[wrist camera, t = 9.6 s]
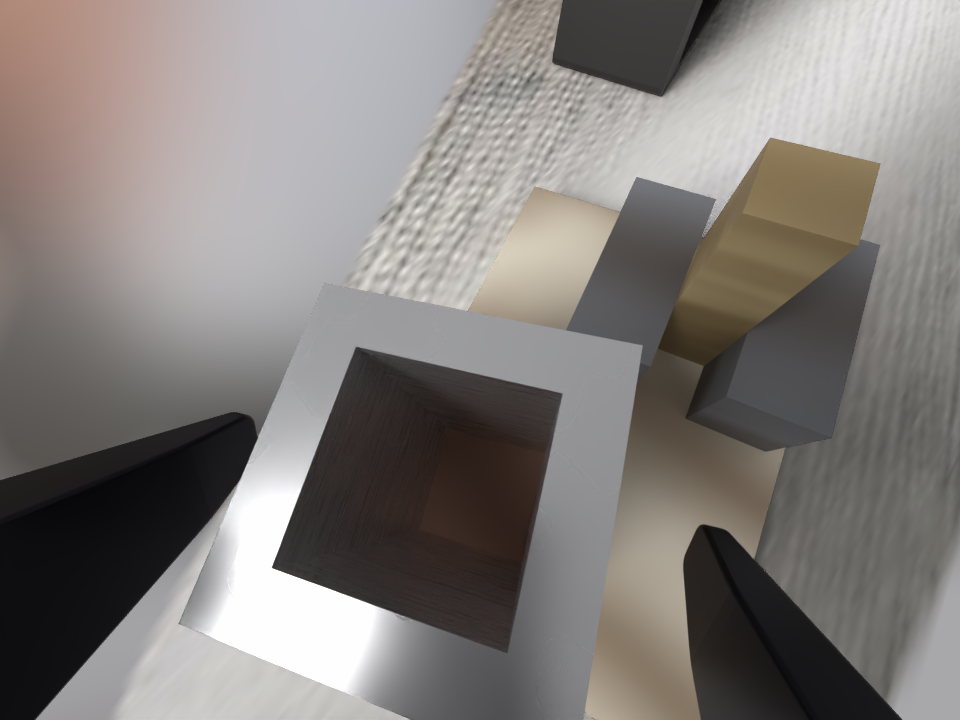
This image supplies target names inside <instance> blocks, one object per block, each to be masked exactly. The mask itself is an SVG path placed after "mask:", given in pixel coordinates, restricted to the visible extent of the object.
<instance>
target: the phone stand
mask: <svg viewBox="0 0 960 720" xmlns="http://www.w3.org/2000/svg"><path fill="white" fill-rule="evenodd" d="M721 2H722V0H563V3H562V8H561V14H560V19H559V25H558V30H557V36H556V41H555V47H554V53H553V59H552V61H553V63H555V64H558V65H561V66H564V67H568V68H571V69H574V70H577V71H581V72H584V73H587V74H590V75H594V76H597V77H600V78H603V79H607V80H610V81H613V82H616V83H620V84H623V85H626V86H629V87H633V88H636V89H639V90H643V91H646V92H649V93H652V94H656V95H659V96H662V94H663V93H664V91H665V90H666V88H667V87H668V85H669V83H670V82H671V80H672V79H673V77H674V76H675V74H676V72H677V71H678V69H679V68H680V66H681V65H682V63H683V61H684V60H685V58H686V57H687V55H688V53H689V52H690V50H691V49H692V47H693V46H694V44H695V42H696V40H697V38H699V36H700V35H701V33H702V31H703V30H704V28H705V27H706V25H707V24H708V22H709V20H710V19H711V17H712V16H713V14H714V13H715V11H716V9H717V8H718V6H719V5H720V3H721Z"/></svg>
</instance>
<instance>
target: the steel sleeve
mask: <svg viewBox="0 0 960 720" xmlns="http://www.w3.org/2000/svg"><path fill="white" fill-rule="evenodd" d="M642 347H643V345H638V344H633V343H628V342H622V341H617V340H612V339H607V338H602V337H597V336H592V335H587V334H582V333H577V332H572V331H566V330H561V329H556V328H551V327H546V326H541V325H536V324H531V323H526V322H521V321H515V320H510V319H505V318H500V317H495V316H490V315H485V314H480V313H475V312H470V311H465V310H459V309H454V308H449V307H444V306H439V305H434V304H429V303H424V302H419V301H414V300H408V299H403V298H398V297H393V296H388V295H383V294H378V293H373V292H368V291H363V290H358V289H352V288H347V287H342V286H337V285H332V284H327V283H324V285H323V288H322V290H321V293H320V295H319V297H318V299H317V302H316V304H315V306H314V309H313V311H312V313H311V316H310V318H309V320H308V323H307V325H306V328H305V330H304V332H303V334H302V337H301V339H300V341H299V344H298V346H297V348H296V351H295V353H294V355H293V358H292V360H291V362H290V365H289V367H288V369H287V372H286V374H285V376H284V379H283V381H282V384H281V386H280V388H279V391H278V393H277V395H276V398H275V400H274V402H273V405H272V407H271V409H270V412H269V414H268V416H267V419H266V421H265V424H264V426H263V428H262V430H261V433H260V435H259V437H258V440H257V442H256V444H255V447H254V449H253V451H252V454H251V456H250V458H249V461H248V463H247V465H246V468H245V470H244V472H243V475H242V477H241V479H240V482H239V484H238V486H237V489H236V491H235V493H234V496H233V498H232V500H231V503H230V505H229V507H228V510H227V512H226V514H225V517H224V519H223V521H222V524H221V526H220V528H219V531H218V533H217V535H216V538H215V540H214V542H213V545H212V547H211V549H210V552H209V554H208V556H207V559H206V561H205V563H204V566H203V568H202V570H201V573H200V575H199V577H198V580H197V582H196V585H195V587H194V589H193V592H192V594H191V596H190V599H189V601H188V603H187V606H186V608H185V610H184V613H183V615H182V617H181V620H180V622H179V624H180V625H183V626H185V627H188V628H190V629H193V630H195V631H197V632H200V633H202V634H205V635H207V636H210V637H212V638H214V639H217V640H219V641H222V642H224V643H227V644H229V645H231V646H234V647H236V648H239V649H241V650H244V651H246V652H248V653H251V654H253V655H256V656H258V657H261V658H263V659H265V660H268V661H270V662H273V663H275V664H278V665H280V666H282V667H285V668H287V669H290V670H292V671H295V672H297V673H299V674H302V675H304V676H307V677H309V678H312V679H314V680H316V681H319V682H321V683H324V684H326V685H329V686H331V687H333V688H336V689H338V690H341V691H343V692H345V693H348V694H350V695H353V696H355V697H358V698H360V699H362V700H365V701H367V702H370V703H372V704H375V705H377V706H379V707H382V708H384V709H387V710H389V711H392V712H394V713H396V714H399V715H401V716H404V717H406V718H409V719H411V720H583V719H584V713H585V707H586V700H587V694H588V688H589V681H590V675H591V669H592V662H593V656H594V650H595V643H596V637H597V631H598V625H599V618H600V612H601V606H602V599H603V593H604V587H605V580H606V574H607V568H608V561H609V555H610V549H611V542H612V536H613V530H614V524H615V517H616V511H617V505H618V498H619V492H620V486H621V479H622V473H623V467H624V460H625V454H626V448H627V441H628V435H629V429H630V423H631V416H632V410H633V404H634V397H635V391H636V385H637V378H638V372H639V366H640V359H641V353H642ZM448 429H453V430H456V431H460V432H464V433H468V434H472V435H476V436H480V437H484V438H488V439H491V440H495V441H499V442H503V443H507V444H511V445H515V446H519V447H523V448H526V449H530V450H534V451H538V452H542V453H545V455H544V460H543V464H542V469H541V474H540V478H539V483H538V487H537V492H536V497H535V501H534V506H533V510H532V515H531V520H530V524H529V529H528V534H527V538H526V543H525V547H524V552H523V557H522V561H521V562H520V561H516V560H513V559H510V558H507V557H504V556H500V555H497V554H494V553H491V552H488V551H484V550H481V549H478V548H475V547H472V546H468V545H465V544H462V543H459V542H456V541H453V540H449V539H446V538H443V537H440V536H437V535H433V534H430V533H427V532H424V531H421V530H419V528H420V525H421V521H422V518H423V514H424V511H425V508H426V504H427V501H428V497H429V494H430V490H431V487H432V484H433V480H434V477H435V473H436V470H437V466H438V463H439V460H440V456H441V453H442V449H443V446H444V442H445V439H446V435H447V432H448Z"/></svg>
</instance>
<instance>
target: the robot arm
mask: <svg viewBox="0 0 960 720" xmlns="http://www.w3.org/2000/svg"><path fill="white" fill-rule="evenodd" d="M257 440H258V435H257V430H256V425H255V421H254V419H253V418H252V417H251V416H249V415H246V414H242V413H237V412H231V413H227V414H224V415H220V416H217V417H213V418H210V419H207V420H203V421H200V422H196V423H193V424H190V425H186V426H183V427H179V428H176V429H173V430H169V431H166V432H163V433H159V434H156V435H152V436H149V437H145V438H142V439H139V440H135V441H132V442H129V443H125V444H122V445H118V446H115V447H111V448H108V449H105V450H102V451H98V452H94V453H91V454H88V455H84V456H81V457H77V458H74V459H71V460H67V461H64V462H60V463H57V464H54V465H50V466H47V467H43V468H40V469H37V470H33V471H30V472H26V473H24V474H20V475H16V476H13V477H9V478H6V479H3V480H0V720H36V718H37V717H38V716H39V715H40V714H41V713H42V712H43V710H44V709H45V708H46V707H47V706H48V705H49V704H50V703H51V701H52V700H53V699H54V698H55V697H56V696H57V695H58V693H59V692H60V691H61V690H62V689H63V688H64V686H65V685H66V684H67V683H68V682H69V681H70V680H71V679H72V677H73V676H74V675H75V674H76V673H77V672H78V671H79V669H80V668H81V667H82V666H83V665H84V664H85V663H86V661H87V660H88V659H89V658H90V657H91V656H92V655H93V653H94V652H95V651H96V650H97V649H98V648H99V646H100V645H101V644H102V643H103V642H104V641H105V640H106V639H107V638H108V636H109V635H110V634H111V633H112V632H113V631H114V629H115V628H116V627H117V626H118V625H119V624H120V623H121V622H122V620H123V619H124V618H125V617H126V616H127V614H129V612H130V611H131V610H132V609H133V608H134V606H135V605H136V604H137V603H138V602H139V601H140V600H141V598H142V597H143V596H144V595H145V594H146V593H147V592H148V591H149V590H150V588H151V587H152V586H153V585H154V584H155V583H156V582H157V580H158V579H159V578H160V577H161V576H162V575H163V574H164V572H165V571H166V570H167V569H168V568H169V567H170V566H171V564H172V563H173V562H174V561H175V560H176V559H177V558H178V556H179V555H180V554H181V553H182V552H183V551H184V549H185V548H186V547H187V546H188V545H189V544H190V543H191V541H192V540H193V539H194V538H195V537H196V536H197V535H198V534H199V532H200V531H201V530H202V529H203V528H204V527H205V525H206V524H207V523H208V522H209V521H210V519H211V518H212V517H213V516H214V514H215V513H216V512H217V510H218V509H219V508H220V507H221V505H222V504H223V502H224V501H225V500H226V498H227V497H228V496H229V494H230V493H231V491H232V490H233V489H234V487H235V486H236V485H237V483H238V482H239V481H240V479H241V477H242V475H243V472H244V470H245V468H246V465H247V463H248V461H249V458H250V456H251V454H252V451H253V449H254V447H255V444H256V442H257ZM683 575H684V588H685V601H686V614H687V628H688V641H689V652H690V662H691V668H692V674H693V680H694V686H695V691H696V697H697V702H698V708H699V713H700V719H701V720H902V719H901V718H900V717H899V715H898V714H897V713H896V712H895V711H894V710H893V709H892V708H891V707H890V706H889V705H888V704H887V703H886V701H885V700H884V699H883V698H882V697H881V696H880V695H879V694H878V693H877V692H876V691H875V690H874V688H873V687H872V686H871V685H870V684H869V683H868V682H867V681H866V680H865V679H864V678H863V677H862V675H861V674H860V673H859V672H858V671H857V670H856V669H855V668H854V667H853V666H852V665H851V664H850V662H849V661H848V660H847V659H846V658H845V657H844V656H843V655H842V654H841V653H840V652H839V651H838V649H837V648H836V647H835V646H834V645H833V644H832V643H831V642H830V641H829V640H828V639H827V638H826V636H825V635H824V634H823V633H822V632H821V631H820V630H819V629H818V628H817V627H816V626H815V625H814V623H813V622H812V621H811V620H810V619H809V618H808V617H807V616H806V615H805V614H804V613H803V612H802V610H801V609H800V608H799V607H798V606H797V605H796V604H795V603H794V602H793V601H792V600H791V599H790V597H789V596H788V595H787V594H786V593H785V592H784V591H783V590H782V589H781V588H780V587H779V586H778V584H777V583H776V582H775V581H774V580H773V579H772V578H771V577H770V576H769V575H768V574H767V573H766V571H765V570H764V569H763V568H762V567H761V566H760V565H759V564H758V563H757V562H756V561H755V560H754V558H753V557H752V556H751V555H750V554H749V553H748V552H747V551H746V550H745V549H744V548H743V547H742V545H741V544H740V543H739V542H738V541H737V540H736V539H735V538H734V537H733V536H732V535H731V534H730V533H729V532H728V531H727V530H725V529H723V528H718V527H714V526H710V525H706V524H702V525H699V526H698V528H697V529H696V531H695V533H694V535H693V538H692V540H691V542H690V544H689V546H688V549H687V551H686V553H685V556H684V560H683Z"/></svg>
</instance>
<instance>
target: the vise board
mask: <svg viewBox="0 0 960 720" xmlns="http://www.w3.org/2000/svg"><path fill="white" fill-rule="evenodd" d="M879 167H880V163H875V162H871V161H867V160H863V159H858V158H854V157H850V156H846V155H841V154H837V153H833V152H829V151H825V150H820V149H816V148H812V147H808V146H803V145H799V144H795V143H791V142H786V141H782V140H778V139H774V138H770V139H769V140H768V142H767V143H766V145H765V146H764V148H763V149H762V151H761V153H760V154H759V156H758V157H757V159H756V160H755V162H754V163H753V165H752V166H751V168H750V169H749V171H748V172H747V174H746V175H745V177H744V178H743V180H742V181H741V183H740V184H739V186H738V187H737V189H736V190H735V192H734V193H733V195H732V196H731V198H730V200H729V201H728V203H727V204H726V206H725V207H724V209H723V210H722V212H721V213H720V215H719V216H718V218H717V219H716V221H715V222H714V224H713V225H712V227H711V228H710V230H709V231H708V233H707V234H706V236H705V237H704V238H703V237H701V236H702V233H703V231H704V228H705V226H706V223H707V221H708V218H709V216H710V213H711V210H712V208H713V205H714V203H715V200H716V199H713V198H710V197H706V196H703V195H699V194H695V193H692V192H688V191H685V190H681V189H678V188H674V187H670V186H667V185H663V184H660V183H656V182H653V181H649V180H645V179H642V178H638V177H636V179H635V182H634V184H633V186H632V188H631V190H630V192H629V195H628V197H627V199H626V201H625V203H624V205H623V208H622V210H621V212H617V211H614V210H611V209H607V208H604V207H601V206H598V205H594V204H591V203H588V202H584V201H581V200H578V199H575V198H571V197H568V196H565V195H561V194H558V193H555V192H552V191H548V190H545V189H542V188H538V187H534V189H533V191H532V193H531V194H530V196H529V198H528V200H527V202H526V204H525V206H524V207H523V209H522V211H521V213H520V215H519V217H518V219H517V220H516V222H515V224H514V226H513V228H512V230H511V231H510V233H509V235H508V237H507V239H506V241H505V243H504V244H503V246H502V248H501V250H500V252H499V254H498V256H497V257H496V259H495V261H494V263H493V265H492V267H491V269H490V270H489V272H488V274H487V276H486V278H485V280H484V282H483V283H482V285H481V287H480V289H479V291H478V293H477V295H476V296H475V298H474V300H473V302H472V304H471V306H470V308H469V309H468V311H470V312H475V313H480V314H485V315H490V316H495V317H500V318H505V319H510V320H515V321H521V322H526V323H531V324H536V325H541V326H546V327H551V328H556V329H561V330H566V331H572V332H577V333H582V334H587V335H592V336H597V337H602V338H607V339H612V340H617V341H622V342H628V343H633V344H638V345H643V347H642V353H641V359H640V366H639V372H638V378H637V385H636V391H635V397H634V404H633V410H632V416H631V423H630V429H629V435H628V441H627V448H626V454H625V460H624V467H623V473H622V479H621V486H620V492H619V498H618V505H617V511H616V517H615V524H614V530H613V536H612V542H611V549H610V555H609V561H608V568H607V574H606V580H605V587H604V593H603V599H602V606H601V612H600V618H599V625H598V631H597V637H596V643H595V650H594V656H593V662H592V669H591V675H590V681H589V688H588V694H587V700H586V707H585V713H586V714H588V715H590V716H591V717H593V718H594V719H596V720H701V719H700V713H699V708H698V702H697V697H696V691H695V686H694V680H693V674H692V668H691V662H690V652H689V641H688V628H687V614H686V601H685V588H684V575H683V560H684V556H685V553H686V551H687V549H688V546H689V544H690V542H691V540H692V538H693V535H694V533H695V531H696V529H697V528H698V526H699V525H702V524H706V525H710V526H714V527H718V528H723V529H725V530H727V531H728V532H729V533H730V534H731V535H732V536H733V537H734V538H735V539H736V540H737V541H738V542H739V543H740V544H741V545H742V547H743V548H744V549H745V550H746V551H747V552H748V553H749V554H750V555H751V556H752V557H753V558H755V554H756V551H757V547H758V544H759V540H760V537H761V533H762V530H763V526H764V522H765V519H766V515H767V512H768V508H769V505H770V501H771V497H772V494H773V490H774V487H775V483H776V480H777V476H778V472H779V469H780V465H781V462H782V458H783V455H784V451H785V448H786V447H791V446H796V445H801V444H805V443H810V442H815V441H820V440H824V439H829V438H832V434H833V430H834V426H835V422H836V418H837V414H838V410H839V406H840V402H841V398H842V394H843V390H844V386H845V382H846V378H847V374H848V370H849V366H850V362H851V358H852V354H853V350H854V346H855V342H856V339H857V335H858V331H859V327H860V323H861V319H862V315H863V311H864V307H865V303H866V299H867V295H868V291H869V287H870V283H871V279H872V275H873V271H874V267H875V263H876V259H877V255H878V251H879V247H880V245H878V244H875V243H871V242H867V241H864V240H860V238H861V234H862V230H863V227H864V223H865V219H866V216H867V212H868V208H869V204H870V201H871V197H872V193H873V189H874V186H875V182H876V178H877V175H878V171H879ZM544 455H545V453H542V452H538V451H534V450H530V449H526V448H523V447H519V446H515V445H511V444H507V443H503V442H499V441H495V440H491V439H488V438H484V437H480V436H476V435H472V434H468V433H464V432H460V431H456V430H453V429H448V432H447V435H446V439H445V442H444V446H443V449H442V453H441V456H440V460H439V463H438V466H437V470H436V473H435V477H434V480H433V484H432V487H431V490H430V494H429V497H428V501H427V504H426V508H425V511H424V514H423V518H422V521H421V525H420V528H419V530H421V531H424V532H427V533H430V534H433V535H437V536H440V537H443V538H446V539H449V540H453V541H456V542H459V543H462V544H465V545H468V546H472V547H475V548H478V549H481V550H484V551H488V552H491V553H494V554H497V555H500V556H504V557H507V558H510V559H513V560H516V561H520V562H521V561H522V557H523V552H524V547H525V543H526V538H527V534H528V529H529V524H530V520H531V515H532V510H533V506H534V501H535V497H536V492H537V487H538V483H539V478H540V474H541V469H542V464H543V460H544Z"/></svg>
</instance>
